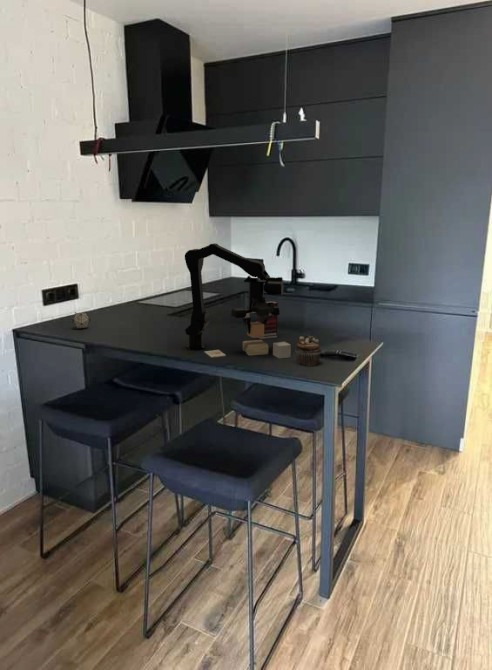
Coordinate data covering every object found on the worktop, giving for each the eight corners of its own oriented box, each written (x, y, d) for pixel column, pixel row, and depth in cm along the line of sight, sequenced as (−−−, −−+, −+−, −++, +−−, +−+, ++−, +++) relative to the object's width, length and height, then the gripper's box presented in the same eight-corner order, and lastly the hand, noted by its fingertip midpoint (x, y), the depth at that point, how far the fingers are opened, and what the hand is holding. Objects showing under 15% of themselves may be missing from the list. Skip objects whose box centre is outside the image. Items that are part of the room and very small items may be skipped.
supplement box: (272, 335, 216) (273, 300, 213) (277, 337, 212) (278, 302, 208) (255, 336, 213) (256, 301, 209) (259, 339, 209) (260, 303, 205)
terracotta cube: (247, 334, 188) (247, 322, 187) (258, 333, 190) (258, 321, 189) (252, 337, 184) (252, 325, 183) (263, 336, 186) (264, 324, 185)
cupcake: (289, 360, 178) (290, 335, 175) (309, 357, 182) (311, 332, 180) (305, 367, 170) (306, 340, 167) (326, 364, 175) (327, 337, 172)
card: (204, 352, 187) (204, 351, 187) (218, 350, 190) (218, 349, 190) (211, 357, 180) (211, 356, 180) (225, 356, 183) (225, 354, 183)
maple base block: (242, 350, 192) (242, 341, 191) (261, 349, 194) (261, 339, 193) (248, 356, 184) (248, 346, 183) (268, 354, 186) (268, 344, 186)
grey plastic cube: (272, 355, 185) (273, 342, 184) (284, 353, 187) (284, 341, 186) (278, 358, 181) (279, 346, 179) (290, 357, 183) (290, 344, 181)
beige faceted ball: (85, 335, 227) (95, 317, 230) (85, 333, 219) (95, 314, 222) (67, 326, 225) (77, 308, 228) (66, 324, 217) (77, 305, 220)
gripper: (242, 298, 172) (242, 340, 176) (287, 295, 180) (286, 335, 184) (230, 294, 182) (230, 333, 186) (273, 291, 190) (272, 329, 194)
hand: (255, 333), depth 187 cm, fingers closed on terracotta cube, 5 cm apart
